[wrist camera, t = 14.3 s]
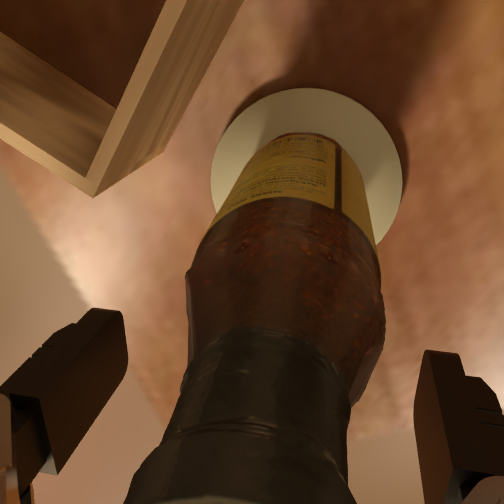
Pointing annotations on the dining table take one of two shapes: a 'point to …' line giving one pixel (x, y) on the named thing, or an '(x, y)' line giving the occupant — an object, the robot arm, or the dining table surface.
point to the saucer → (322, 122)
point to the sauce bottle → (275, 337)
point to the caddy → (100, 112)
